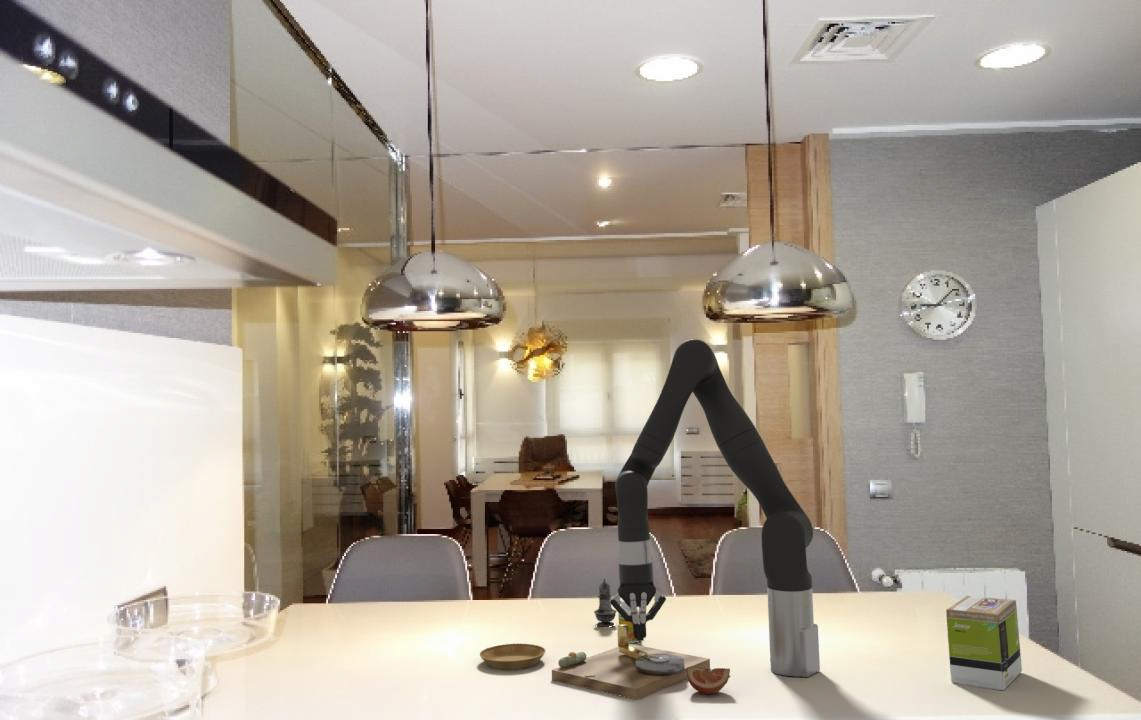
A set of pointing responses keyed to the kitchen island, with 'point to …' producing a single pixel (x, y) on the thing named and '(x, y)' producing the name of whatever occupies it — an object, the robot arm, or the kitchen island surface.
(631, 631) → the supplement bottle
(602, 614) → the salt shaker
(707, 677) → the fruit slice
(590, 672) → the levelling board
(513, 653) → the plant saucer
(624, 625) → the grey and tan lever
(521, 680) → the kitchen island surface
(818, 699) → the kitchen island surface
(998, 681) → the tea box
